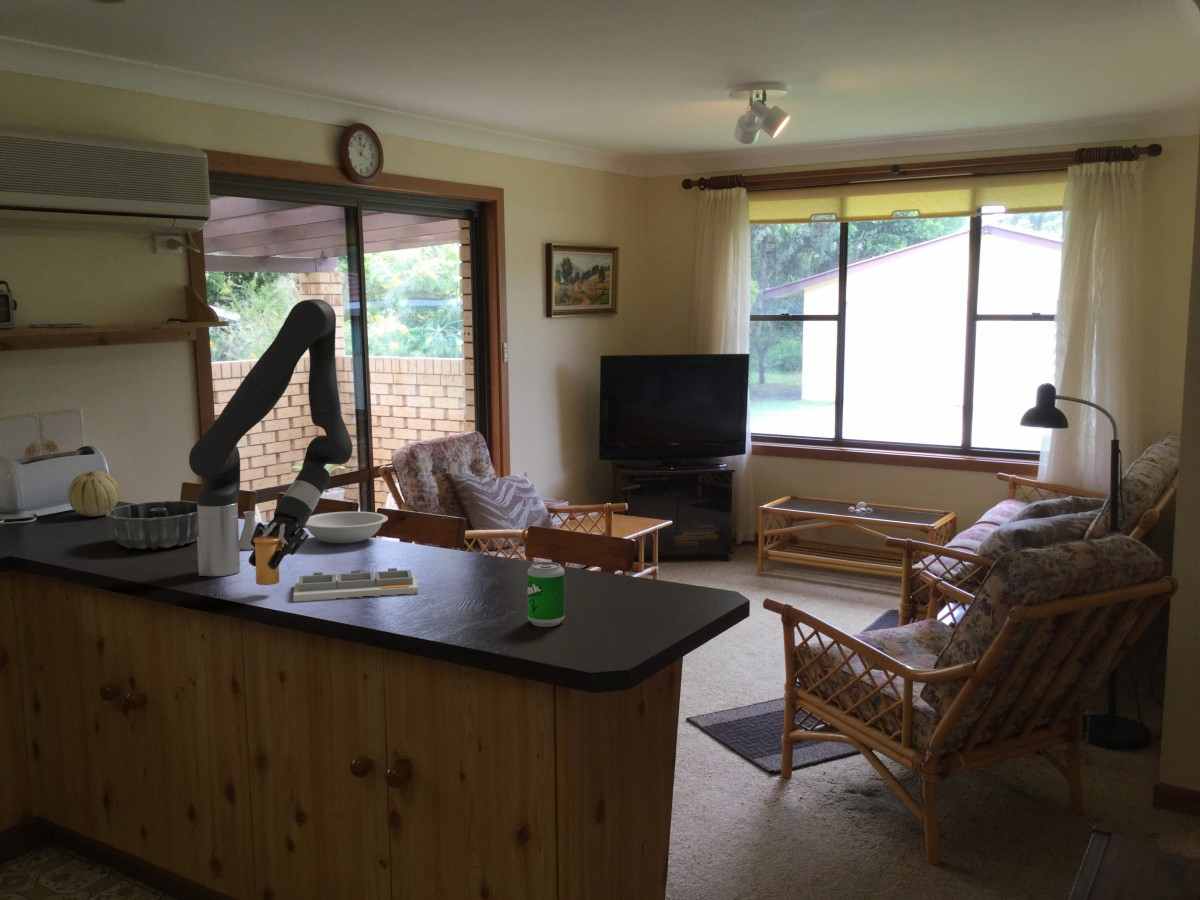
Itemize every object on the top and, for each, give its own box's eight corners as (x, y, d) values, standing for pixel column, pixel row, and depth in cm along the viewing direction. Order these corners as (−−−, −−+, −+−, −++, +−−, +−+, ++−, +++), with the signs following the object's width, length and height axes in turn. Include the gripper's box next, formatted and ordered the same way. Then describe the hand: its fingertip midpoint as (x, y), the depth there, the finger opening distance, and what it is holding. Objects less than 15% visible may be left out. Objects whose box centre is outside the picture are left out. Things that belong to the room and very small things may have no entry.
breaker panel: (293, 601, 217) (293, 587, 216) (296, 585, 230) (295, 572, 230) (418, 593, 224) (418, 580, 223) (413, 578, 237) (413, 566, 237)
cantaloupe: (113, 510, 326) (111, 465, 325) (126, 517, 315) (123, 470, 314) (63, 515, 317) (61, 469, 315) (74, 522, 306) (72, 474, 304)
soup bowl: (381, 531, 295) (380, 509, 294) (394, 547, 273) (394, 523, 272) (297, 536, 286) (296, 514, 285) (304, 553, 264) (303, 529, 263)
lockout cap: (253, 586, 219) (252, 541, 217) (255, 579, 224) (254, 536, 223) (280, 584, 220) (279, 540, 219) (281, 578, 225) (280, 535, 224)
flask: (235, 551, 267) (234, 515, 265) (238, 545, 273) (236, 510, 272) (264, 550, 268) (262, 513, 267) (265, 544, 275) (264, 509, 274)
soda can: (564, 617, 206) (564, 560, 204) (564, 627, 198) (564, 569, 197) (528, 617, 206) (528, 561, 204) (526, 628, 198) (526, 569, 197)
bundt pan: (176, 556, 261) (174, 518, 260) (85, 552, 265) (83, 515, 264) (228, 536, 287) (227, 502, 286) (145, 532, 291) (143, 499, 290)
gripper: (265, 492, 229) (227, 553, 220) (314, 497, 224) (277, 560, 214) (282, 511, 235) (245, 571, 225) (330, 517, 229) (294, 579, 220)
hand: (261, 565), depth 220 cm, fingers closed on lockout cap, 5 cm apart
